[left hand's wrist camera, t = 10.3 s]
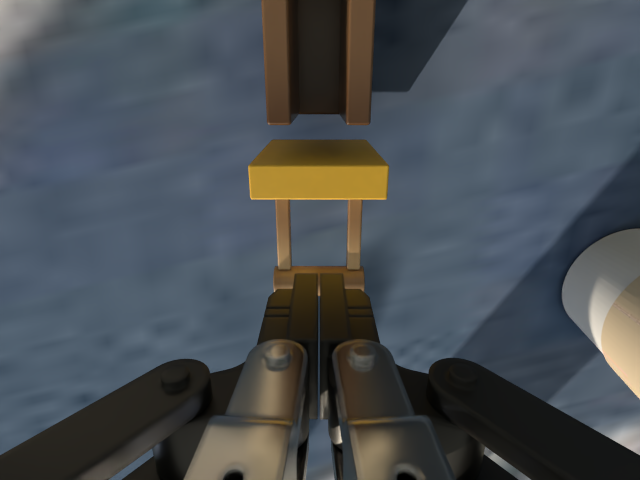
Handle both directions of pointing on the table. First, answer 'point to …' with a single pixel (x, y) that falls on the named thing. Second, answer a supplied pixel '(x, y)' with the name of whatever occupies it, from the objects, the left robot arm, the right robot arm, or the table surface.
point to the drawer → (318, 98)
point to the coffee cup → (609, 301)
